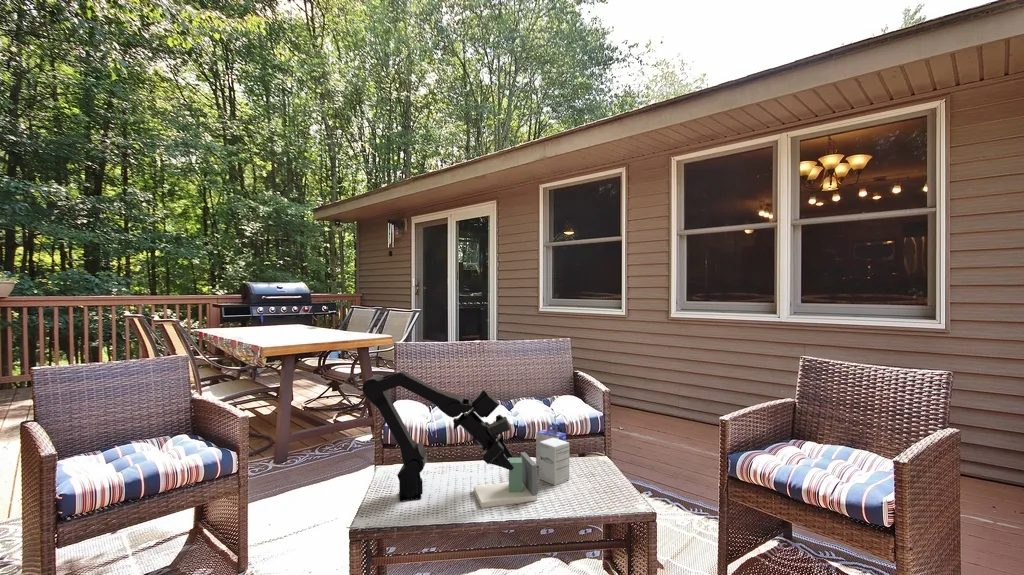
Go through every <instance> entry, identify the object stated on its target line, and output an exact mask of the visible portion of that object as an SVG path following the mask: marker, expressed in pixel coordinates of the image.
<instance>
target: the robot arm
mask: <svg viewBox="0 0 1024 575" xmlns="http://www.w3.org/2000/svg"><path fill="white" fill-rule="evenodd" d="M396 387H402V388H403V389H406V390H407V391H409V392H411V393H413V394H414V395H417V396H419V397H421V398H423V399H425V400H426V401H429V402H430V403H432V404H433V405H435V406H436V407H437V408H438V409H439V411H441V412H442V413H443V414H444V415H446V416H447V417H449V418H452V419H453V420H452V421H453V429H454V430H456V429H457V428H459V426H461V428H462V429H463V430H464V431H465V432H467V434H468V435H469V436H471V441H473V442H476V443H478V444H479V445H480V446H481V448H480V449H481V450H482V451H483V454H482V459H483V461H484V462H485V463H486V465H494V466H497V467H501V468H504V469H506V470H508V471H509V470H513V468H514V467H513V466H512V464H511V463H510V461H509V458H514V456H513V454H512V453H511V451H510V450H509V448H508V447H507V445H506V443H505V441H504V433H505V432H508V431H510V430H511V424H510V423H509V419H508V418H507V416H503V415H501V414H498V415H496V416H495V421H494V420H493V422H491V423H490V422H488V421H484V420H482V418H488V417H489V416H490V415H491V414H492V413H493V412H494V411H495V410H496V409H497V408H498V407H499V406H500V405H501V404H500V402H499V401H498V399H497V398H496V397H495V396H494V395H493V394H491V393H490V392H489V391H487V390H486V389H482V390H481V391H480V393H479V394H478V395H477V396H476V397H475V399H469V398H465V397H462V396H461V395H458V394H456V393H454V392H450V391H444V390H441V389H438V388H436V387H434V386H432V385H431V384H428V383H427V382H424V381H423V380H421V379H419V378H417V377H415V376H413V375H411V374H409V373H408V372H407V371H405V370H400V371H398V372H396V373H391V374H387V375H384V376H381V375H373V376H372V377H370V378H369V379H367V380H366V381H365V382H364V383H363V385H362V388H361V391H362V393H363V396H365V397H366V399H367V400H368V402H370V404H372V405H373V406H375V407H376V408H377V410H378V411H379V413H380V415H381V417H382V419H383V420H384V422H385V424H386V425H387V428H388V429H389V431H390V432H391V435H392V436H393V438H394V440H395V441H396V444H397V445H398V447H399V449H400V455H401V460H402V466H401V468H400V470H399V471H398V473H397V478H398V482H399V487H398V490H399V491H398V501H399V500H400V502H404V501H403V500H406V501H413V500H421V499H422V495H423V491H424V490H423V478H422V477H421V473H422V472H423V470H424V468H425V466H426V463H427V461H428V455H427V453H428V451H427V450H426V448H425V447H424V444H423V442H422V441H421V440H420V441H418V442H416V441H415V440H414V439H413V438H412V435H411V434H410V432H409V431H408V429H407V427H406V425H405V423H404V421H403V420H402V417H401V416H400V414H399V413H398V410H397V408H396V407H395V405H394V404H393V401H392V399H391V395H390V390H391V389H393V388H394V389H395V388H396Z"/></svg>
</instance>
